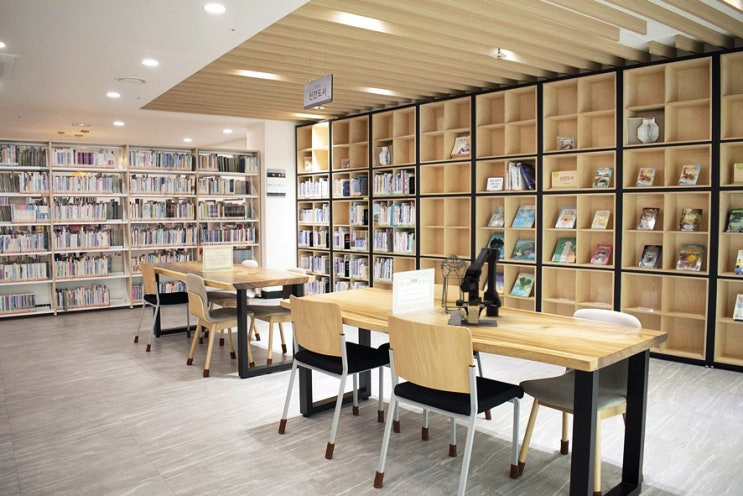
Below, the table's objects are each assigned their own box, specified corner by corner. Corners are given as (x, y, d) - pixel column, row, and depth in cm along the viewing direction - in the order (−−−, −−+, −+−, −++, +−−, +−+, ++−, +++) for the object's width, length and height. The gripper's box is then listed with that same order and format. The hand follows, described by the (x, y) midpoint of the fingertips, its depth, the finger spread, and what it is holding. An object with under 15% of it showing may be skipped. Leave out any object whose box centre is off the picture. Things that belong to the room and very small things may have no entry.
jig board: (448, 320, 324) (448, 318, 324) (496, 322, 320) (496, 320, 320) (447, 327, 307) (447, 325, 307) (497, 328, 302) (497, 327, 302)
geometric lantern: (466, 310, 356) (467, 253, 352) (465, 315, 340) (466, 256, 337) (440, 309, 358) (441, 252, 355) (438, 314, 343) (439, 255, 340)
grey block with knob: (451, 319, 323) (451, 310, 323) (467, 319, 322) (467, 310, 321) (450, 325, 307) (450, 315, 307) (466, 325, 306) (467, 316, 306)
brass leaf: (463, 317, 322) (464, 308, 321) (478, 317, 321) (478, 308, 320) (463, 322, 306) (463, 313, 306) (478, 323, 305) (478, 313, 304)
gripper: (455, 292, 306) (455, 321, 307) (491, 293, 302) (491, 322, 304) (456, 289, 317) (456, 317, 318) (491, 289, 313) (491, 318, 315)
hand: (473, 319), depth 313 cm, fingers closed on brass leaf, 5 cm apart
